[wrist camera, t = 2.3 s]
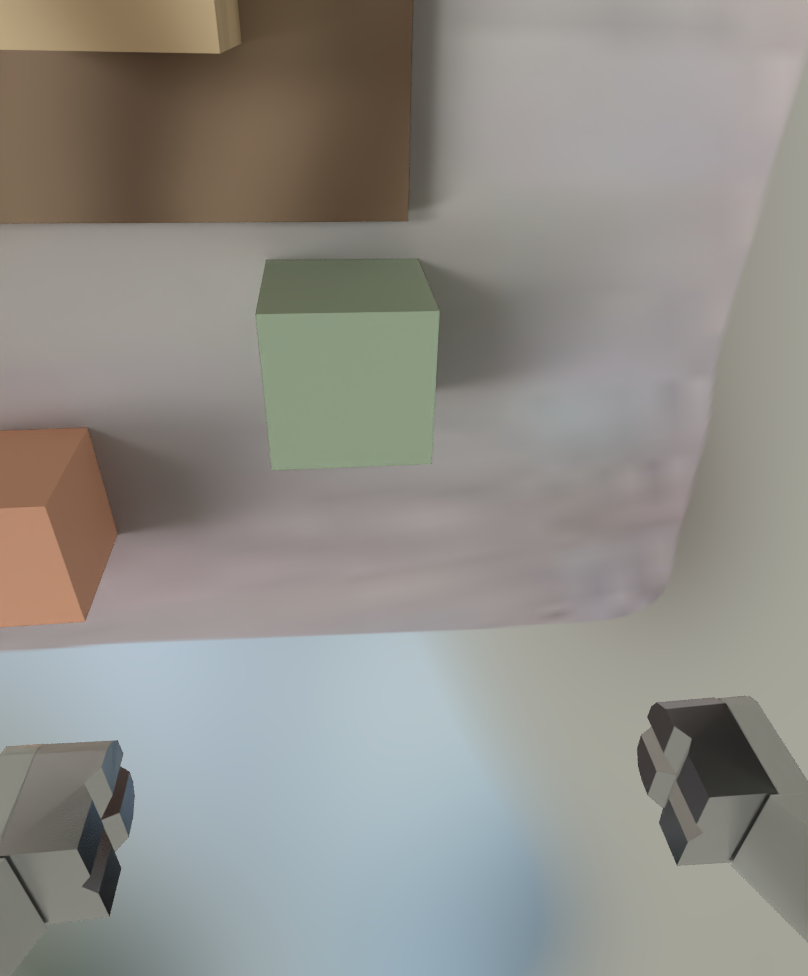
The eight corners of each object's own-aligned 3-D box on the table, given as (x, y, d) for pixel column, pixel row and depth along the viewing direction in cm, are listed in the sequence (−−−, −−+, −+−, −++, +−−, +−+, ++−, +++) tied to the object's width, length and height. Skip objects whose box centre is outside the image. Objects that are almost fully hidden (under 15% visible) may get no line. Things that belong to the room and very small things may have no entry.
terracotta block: (-11, 539, 28) (-67, 631, 24) (-56, 431, 25) (-129, 514, 21) (118, 532, 28) (85, 621, 24) (88, 426, 25) (44, 506, 21)
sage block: (278, 396, 25) (271, 470, 21) (266, 259, 23) (255, 314, 18) (413, 392, 26) (431, 464, 22) (417, 257, 23) (439, 310, 19)
